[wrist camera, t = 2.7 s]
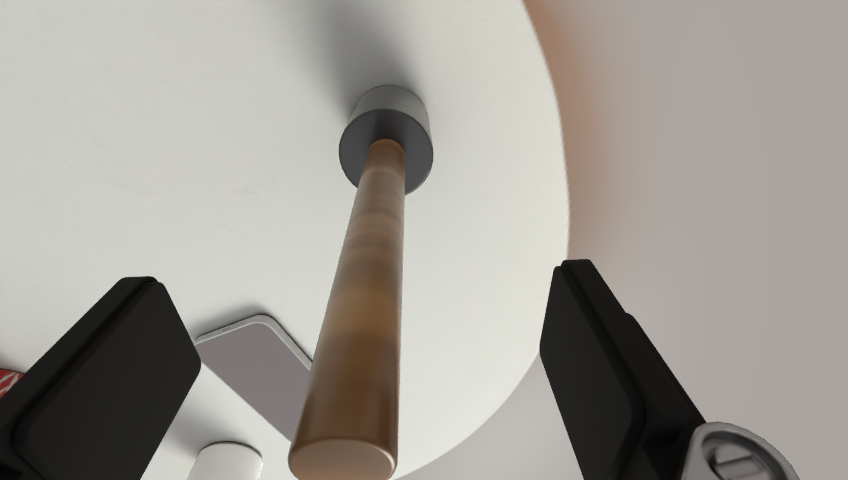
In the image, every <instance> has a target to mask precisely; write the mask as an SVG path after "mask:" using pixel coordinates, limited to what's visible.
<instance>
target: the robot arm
mask: <svg viewBox="0 0 848 480" xmlns="http://www.w3.org/2000/svg"><path fill="white" fill-rule="evenodd" d="M540 356H541V359H542V363H543V365H544V368H545V371H546V374H547V377H548V379H549V382H550V385H551V388H552V391H553V393H554V396H555V399H556V402H557V405H558V408H559V410H560V413H561V416H562V419H563V422H564V425H565V427H566V430H567V433H568V436H569V439H570V441H571V444H572V447H573V450H574V453H575V455H576V458H577V461H578V464H579V467H580V470H581V472H582V475H583V478H584V480H800V479H799V477H798V476H797V474H796V472H795V470H794V469H793V467H792V465H791V464H790V463H789V462H788V461H787V460H786V459H785V457H784V456H783V455H782V454H781V453H780V452H779V451H778V450H777V449H776V448H774V447H773V446H772V445H771V444H769V443H768V442H767V441H766V440H765V439H763V438H761V437H760V436H758V435H756V434H754V433H752V432H751V431H749V430H747V429H744V428H741V427H739V426H736V425H733V424H730V423H723V422H710V423H706V421H705V420H704V418H703V417H702V415H701V414H700V412H699V411H698V410H697V408H696V406H695V405H694V404H693V402H692V401H691V399H690V398H689V396H688V395H687V393H686V392H685V391H684V389H683V388H682V386H681V385H680V383H679V382H678V380H677V379H676V377H675V376H674V374H673V373H672V372H671V370H670V369H669V367H668V366H667V364H666V363H665V361H664V360H663V358H662V357H661V355H660V354H659V353H658V351H657V350H656V348H655V347H654V345H653V344H652V342H651V341H650V340H649V338H648V337H647V335H646V334H645V333H644V331H643V329H642V328H641V326H640V325H639V323H638V322H637V321H636V319H635V318H634V317H633V316H632V315H630V314H628V313H626V312H625V311H624V309H623V308H622V307H621V305H620V303H619V302H618V301H617V299H616V298H615V296H614V295H613V293H612V292H611V290H610V289H609V287H608V286H607V284H606V283H605V281H604V280H603V278H602V277H601V275H600V274H599V272H598V271H597V269H596V268H595V266H594V265H593V263H592V262H591V261H590V260H588V259H579V260H564V261H563V262H562V264H561V266H556V267H555V268H554V271H553V276H552V282H551V287H550V292H549V297H548V303H547V308H546V313H545V318H544V324H543V329H542V334H541V340H540ZM200 369H201V359H200V356H199V354H198V352H197V350H196V348H195V346H194V344H193V342H192V340H191V338H190V336H189V334H188V332H187V330H186V328H185V326H184V324H183V322H182V320H181V318H180V316H179V314H178V312H177V310H176V308H175V306H174V304H173V302H172V300H171V298H170V296H169V294H168V292H167V290H166V288H165V286H164V285H163V284H162V283H161V282H158V281H157V280H156V279H155V278H154V277H150V276H145V277H125V278H122V279H121V280H119V281H118V282H117V283H116V284H115V285H114V286H113V287H112V288H111V289H110V290H109V291H108V292H107V293H106V294H105V295H104V296H103V297H102V298H101V299H100V300H99V301H98V302H97V303H96V304H95V305H94V306H93V307H92V308H91V309H90V310H89V311H88V312H87V313H86V314H85V315H84V316H83V317H82V318H81V319H80V320H79V321H78V322H77V323H76V324H75V325H74V326H73V327H72V328H71V329H70V330H68V331H67V332H66V333H65V334H64V335H63V336H62V337H61V338H60V339H59V340H58V341H57V342H56V343H55V344H54V345H53V346H52V347H51V348H50V349H49V350H48V351H47V352H46V353H45V354H44V355H43V356H42V357H41V358H40V359H39V360H38V361H37V362H36V363H35V364H34V365H33V366H32V367H31V368H30V369H29V370H28V371H27V372H26V373H25V374H24V375H23V376H22V377H21V378H20V379H19V380H18V381H17V382H16V383H15V384H14V385H13V386H12V387H11V388H10V389H9V390H8V391H7V392H6V393H5V394H4V395H3V396H2V397H1V398H0V480H140V479H141V477H142V475H143V473H144V472H145V470H146V468H147V466H148V464H149V463H150V461H151V459H152V457H153V455H154V454H155V452H156V450H157V448H158V446H159V445H160V443H161V441H162V439H163V437H164V436H165V434H166V432H167V430H168V428H169V427H170V425H171V423H172V421H173V419H174V418H175V416H176V414H177V412H178V410H179V409H180V407H181V405H182V403H183V401H184V399H185V398H186V396H187V394H188V392H189V390H190V389H191V387H192V385H193V383H194V381H195V380H196V378H197V376H198V374H199V372H200Z"/></svg>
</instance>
